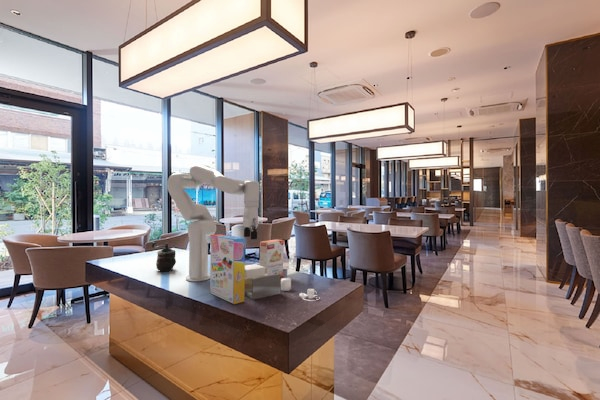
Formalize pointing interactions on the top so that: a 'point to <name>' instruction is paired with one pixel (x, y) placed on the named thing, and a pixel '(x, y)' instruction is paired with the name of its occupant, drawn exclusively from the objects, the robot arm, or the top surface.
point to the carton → (254, 271)
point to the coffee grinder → (165, 258)
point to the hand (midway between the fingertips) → (250, 237)
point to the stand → (262, 286)
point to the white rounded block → (285, 284)
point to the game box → (227, 268)
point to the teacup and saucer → (310, 294)
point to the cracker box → (272, 256)
